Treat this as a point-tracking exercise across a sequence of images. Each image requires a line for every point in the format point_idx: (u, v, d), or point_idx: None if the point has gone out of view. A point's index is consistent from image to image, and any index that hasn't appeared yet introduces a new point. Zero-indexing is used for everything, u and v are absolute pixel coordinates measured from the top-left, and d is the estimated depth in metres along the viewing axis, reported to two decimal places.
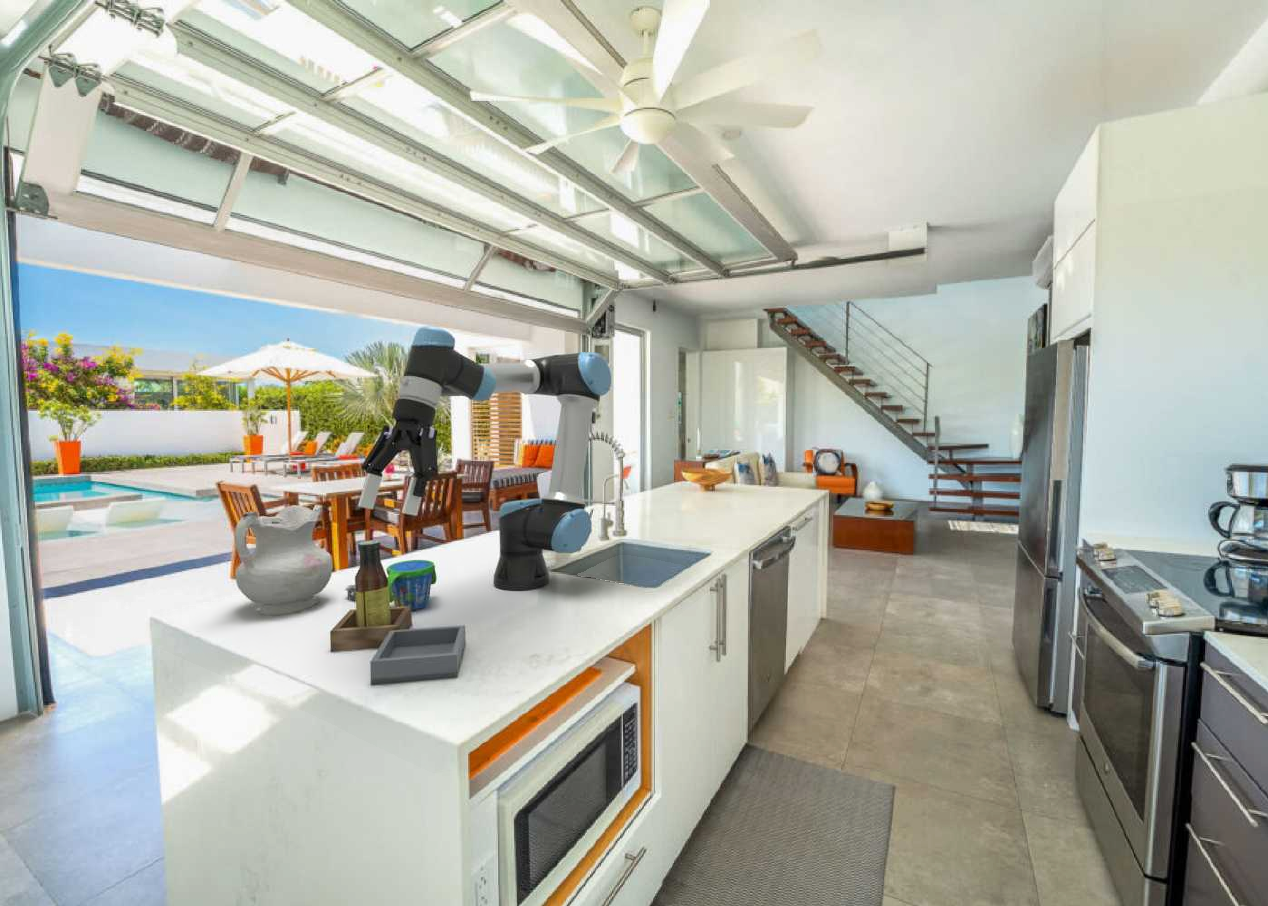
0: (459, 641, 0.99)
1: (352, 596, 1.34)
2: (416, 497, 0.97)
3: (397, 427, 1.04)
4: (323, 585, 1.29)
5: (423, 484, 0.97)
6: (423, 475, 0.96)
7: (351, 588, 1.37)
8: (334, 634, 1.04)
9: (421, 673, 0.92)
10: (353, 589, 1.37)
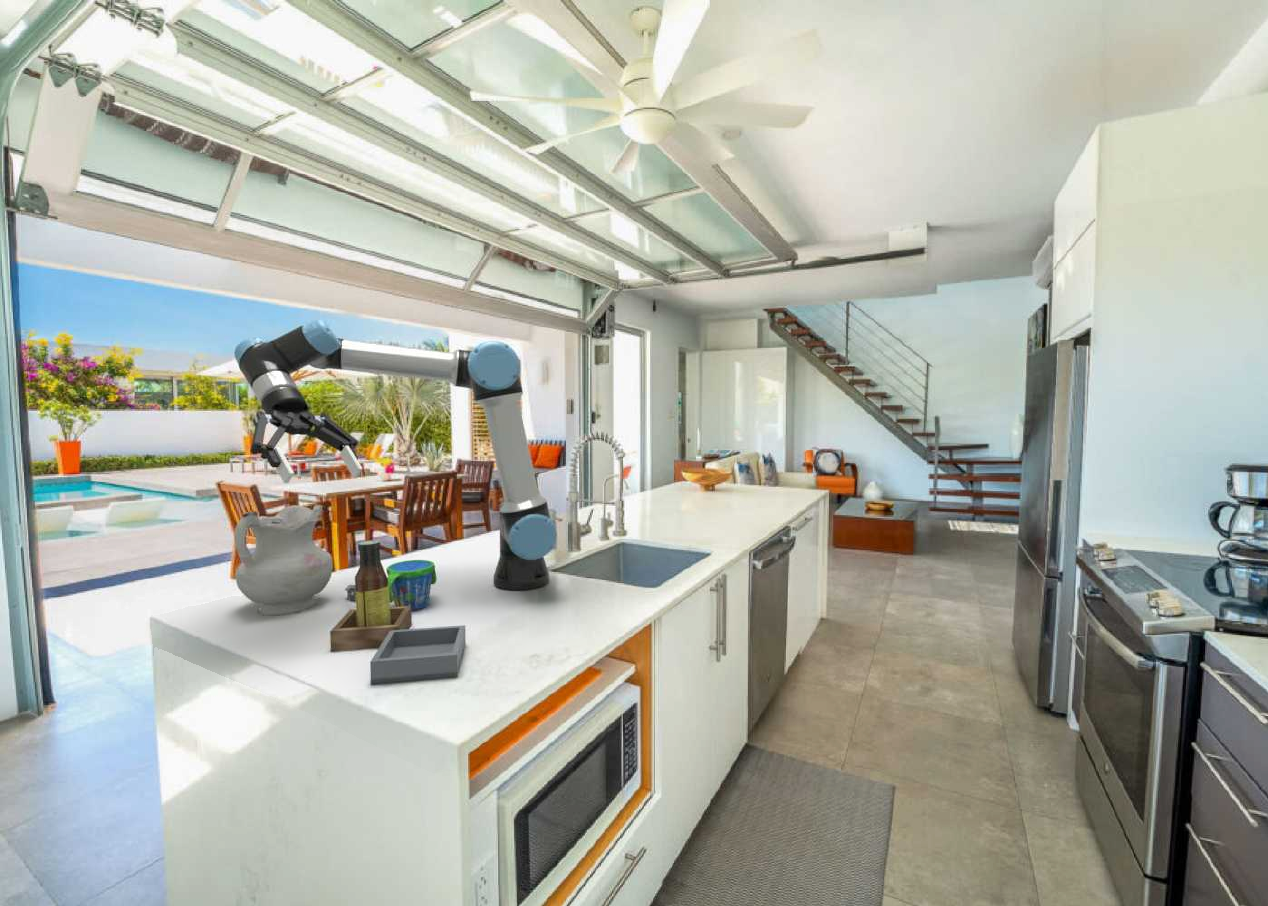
0: (459, 641, 0.99)
1: (352, 596, 1.34)
2: (280, 464, 0.99)
3: None
4: (323, 585, 1.29)
5: (268, 455, 0.99)
6: (261, 452, 0.99)
7: (351, 588, 1.37)
8: (334, 634, 1.04)
9: (421, 673, 0.92)
10: (353, 589, 1.37)
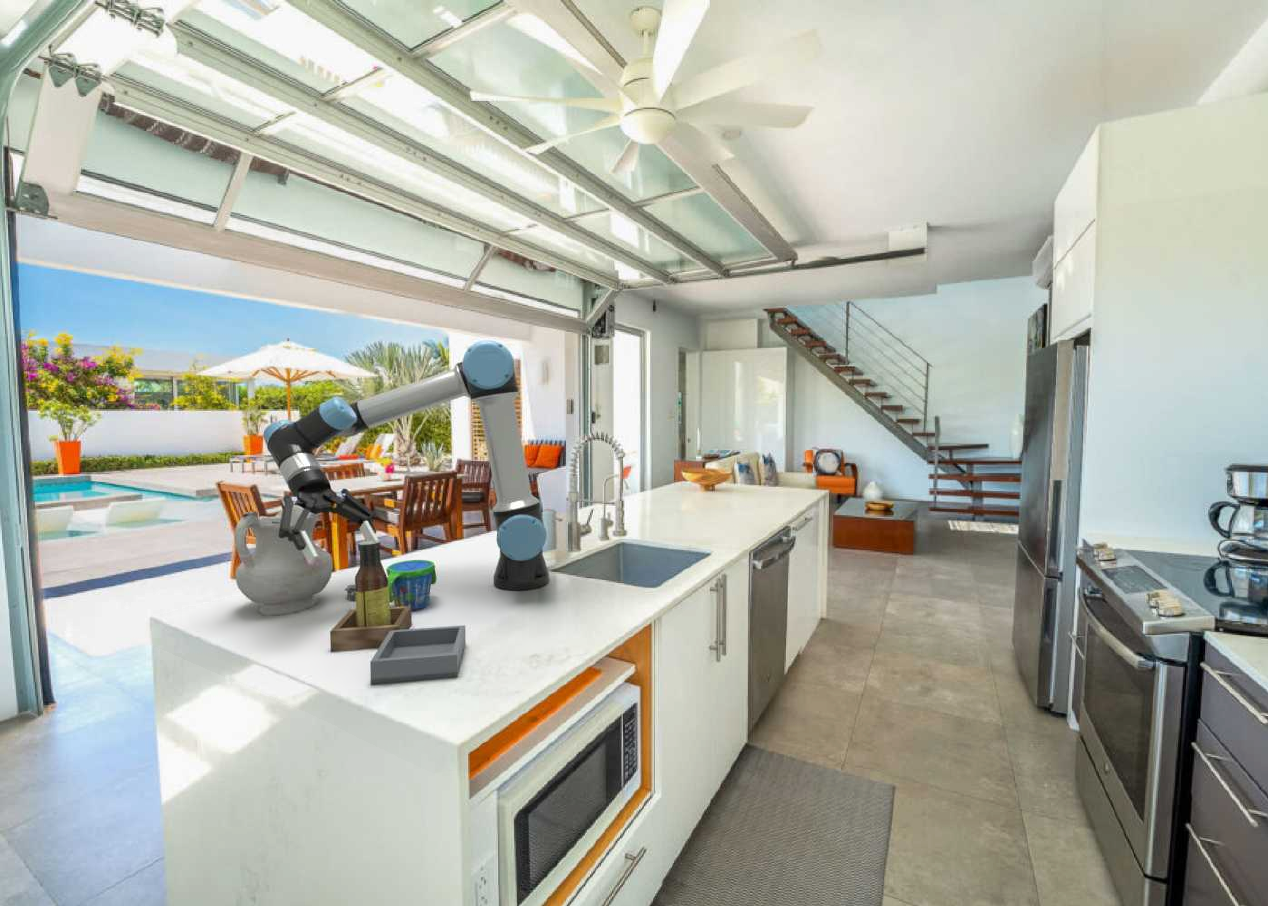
0: (459, 641, 0.99)
1: (352, 596, 1.34)
2: (305, 547, 1.08)
3: None
4: (323, 585, 1.29)
5: (294, 539, 1.08)
6: (288, 536, 1.08)
7: (350, 588, 1.37)
8: (334, 634, 1.04)
9: (421, 673, 0.92)
10: (352, 589, 1.37)
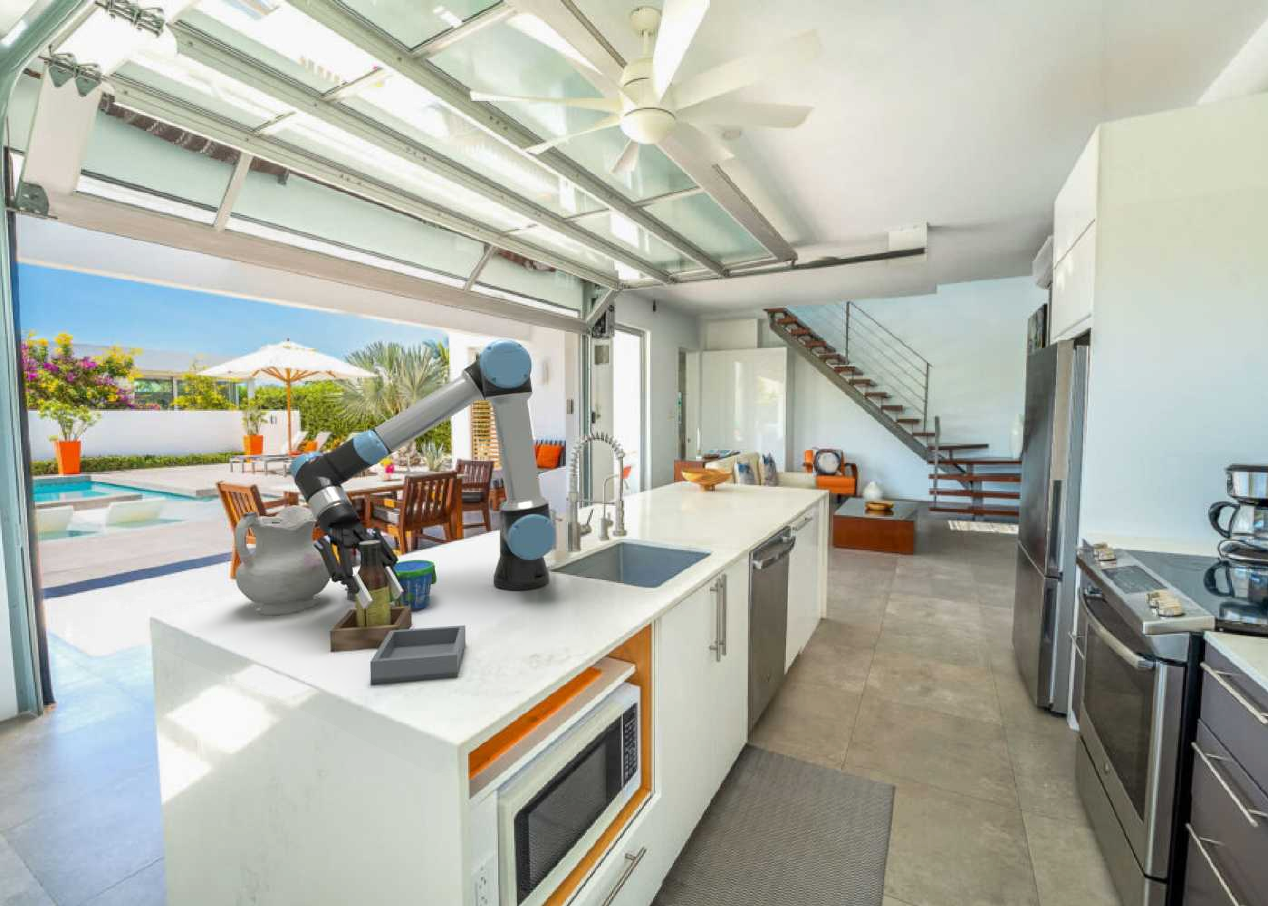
0: (459, 641, 0.99)
1: (352, 596, 1.34)
2: (359, 591, 1.06)
3: None
4: (323, 585, 1.29)
5: (348, 583, 1.06)
6: None
7: None
8: (334, 634, 1.04)
9: (421, 673, 0.92)
10: None
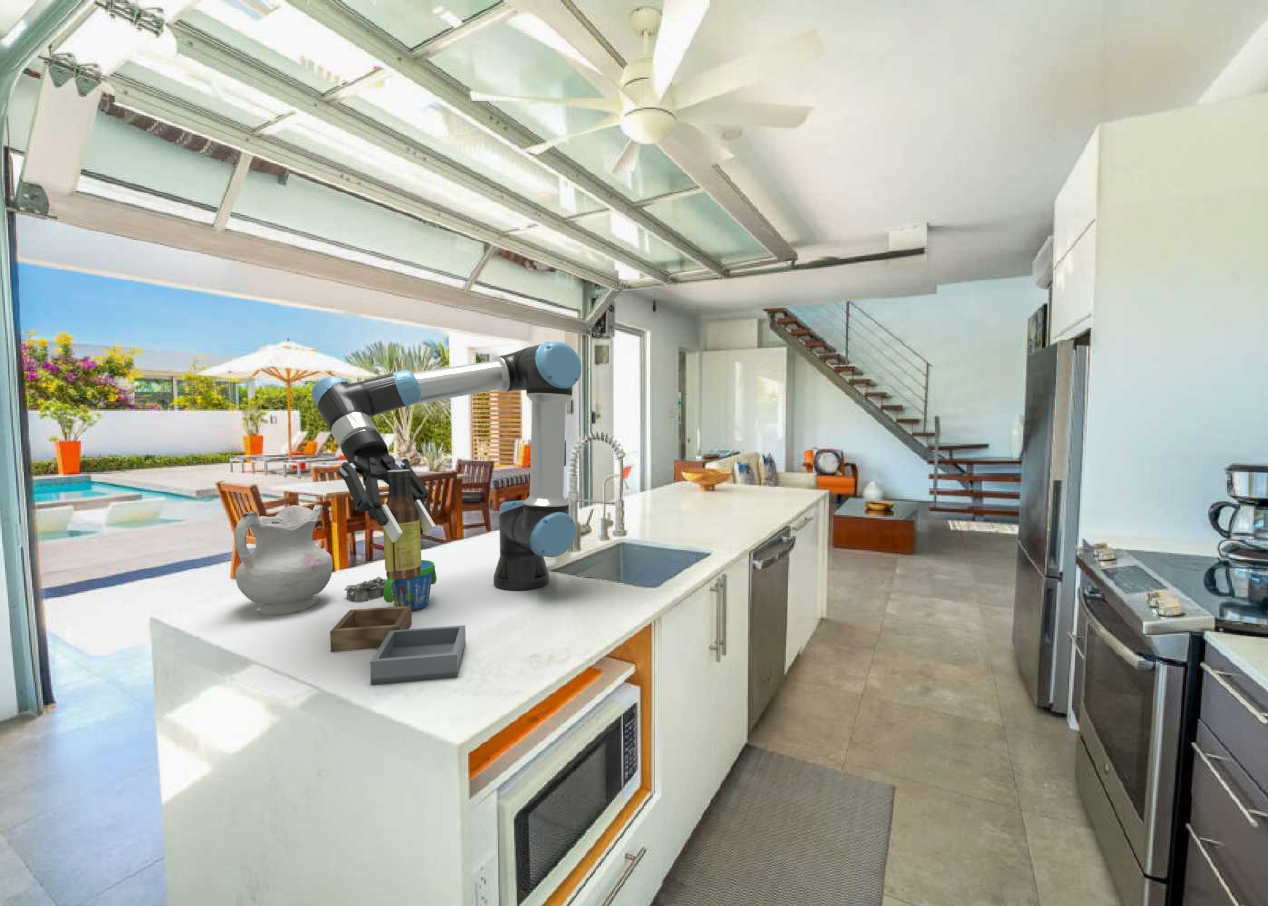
0: (459, 641, 0.99)
1: (351, 596, 1.34)
2: (388, 523, 0.95)
3: None
4: (323, 585, 1.29)
5: (376, 513, 0.95)
6: (368, 510, 0.95)
7: (350, 588, 1.37)
8: (334, 634, 1.04)
9: (421, 673, 0.92)
10: (352, 589, 1.37)
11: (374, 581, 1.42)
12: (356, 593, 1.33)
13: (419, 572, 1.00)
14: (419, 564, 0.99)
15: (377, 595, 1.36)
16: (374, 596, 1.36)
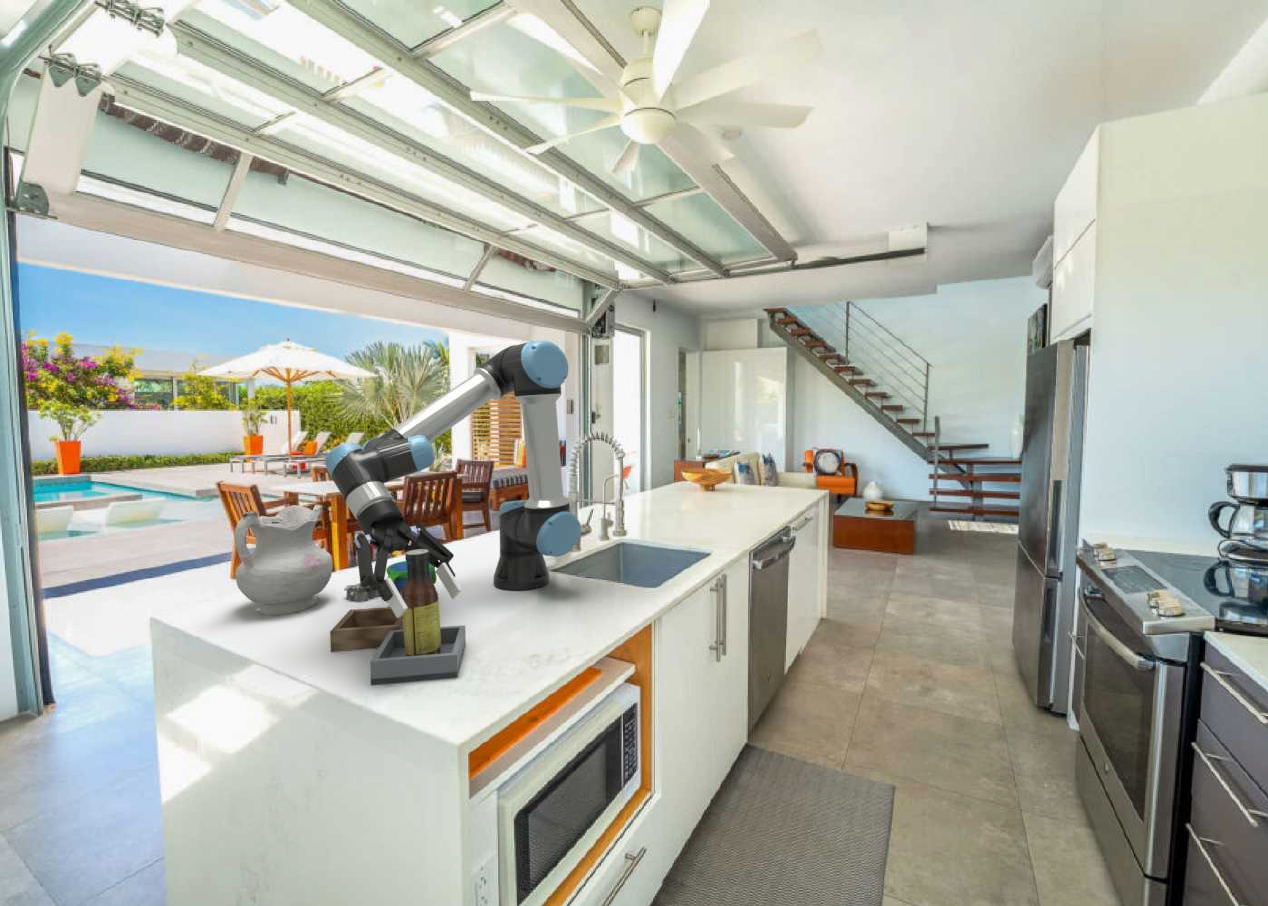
0: (459, 641, 0.99)
1: (351, 596, 1.34)
2: (392, 597, 0.92)
3: None
4: (323, 585, 1.29)
5: (379, 588, 0.92)
6: None
7: (349, 588, 1.36)
8: (334, 634, 1.04)
9: (421, 673, 0.92)
10: (351, 589, 1.37)
11: None
12: (356, 593, 1.33)
13: (439, 653, 0.99)
14: (439, 645, 0.99)
15: (377, 595, 1.36)
16: (374, 596, 1.36)
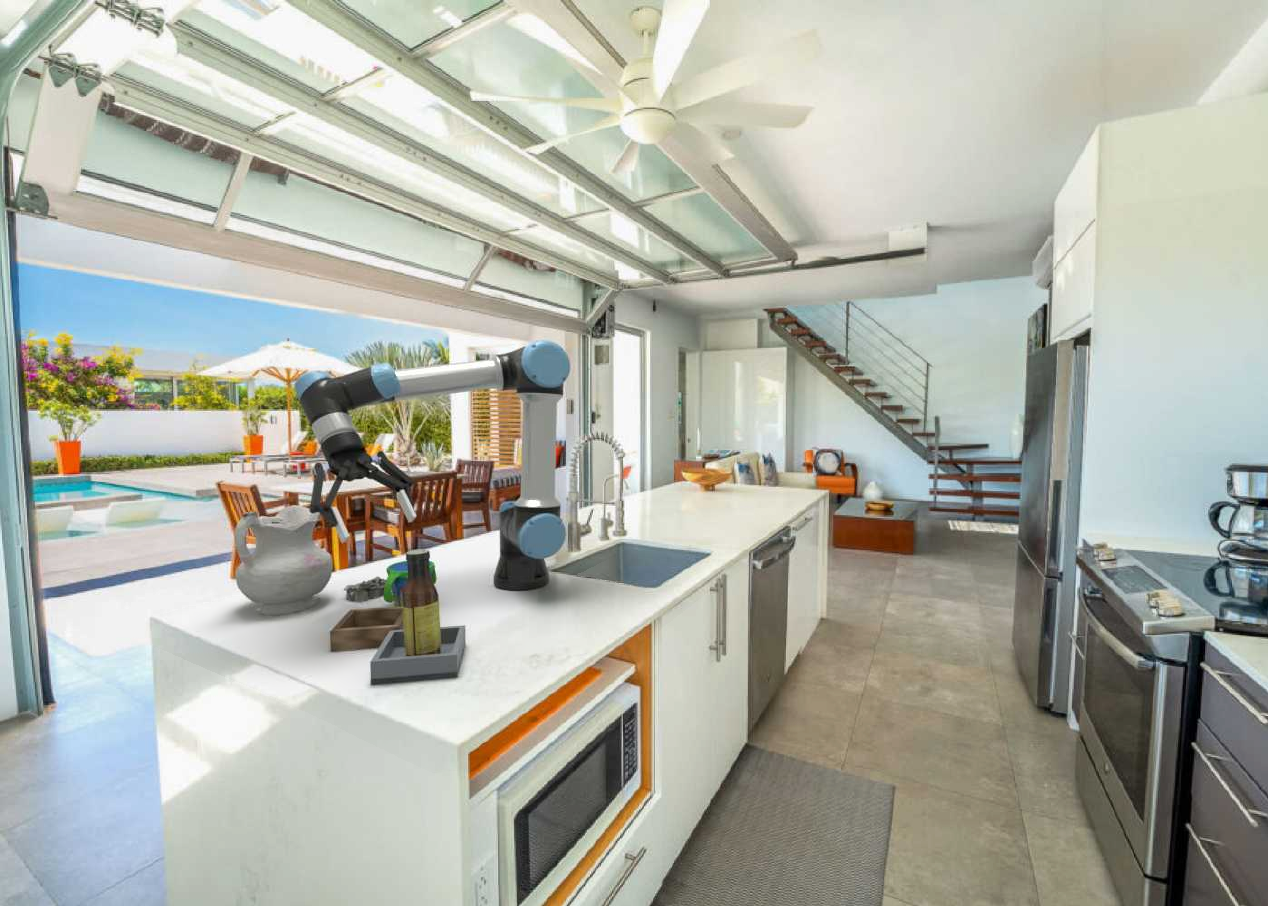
0: (459, 641, 0.99)
1: (351, 596, 1.34)
2: (337, 525, 1.02)
3: None
4: (323, 585, 1.29)
5: (326, 515, 1.02)
6: None
7: (349, 588, 1.36)
8: (334, 634, 1.04)
9: (421, 673, 0.92)
10: (351, 589, 1.37)
11: (373, 581, 1.42)
12: (356, 593, 1.33)
13: (439, 653, 0.99)
14: (439, 645, 0.99)
15: (377, 595, 1.36)
16: (374, 596, 1.36)
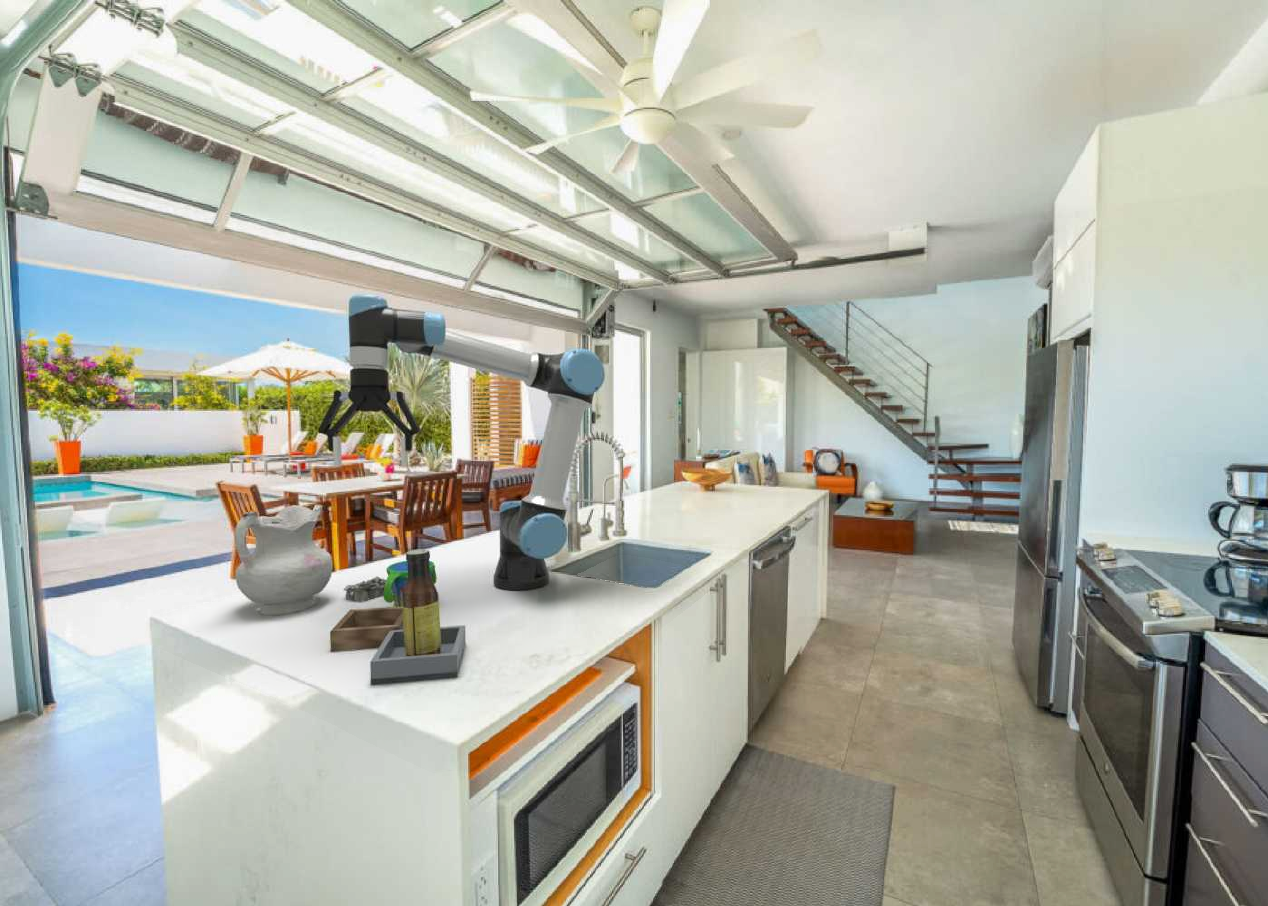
0: (459, 641, 0.99)
1: (351, 596, 1.34)
2: None
3: None
4: (323, 585, 1.29)
5: None
6: None
7: (349, 588, 1.36)
8: (334, 634, 1.04)
9: (421, 673, 0.92)
10: (351, 589, 1.37)
11: (372, 581, 1.42)
12: (356, 593, 1.33)
13: (439, 653, 0.99)
14: (439, 645, 0.99)
15: (377, 595, 1.36)
16: (374, 596, 1.36)
